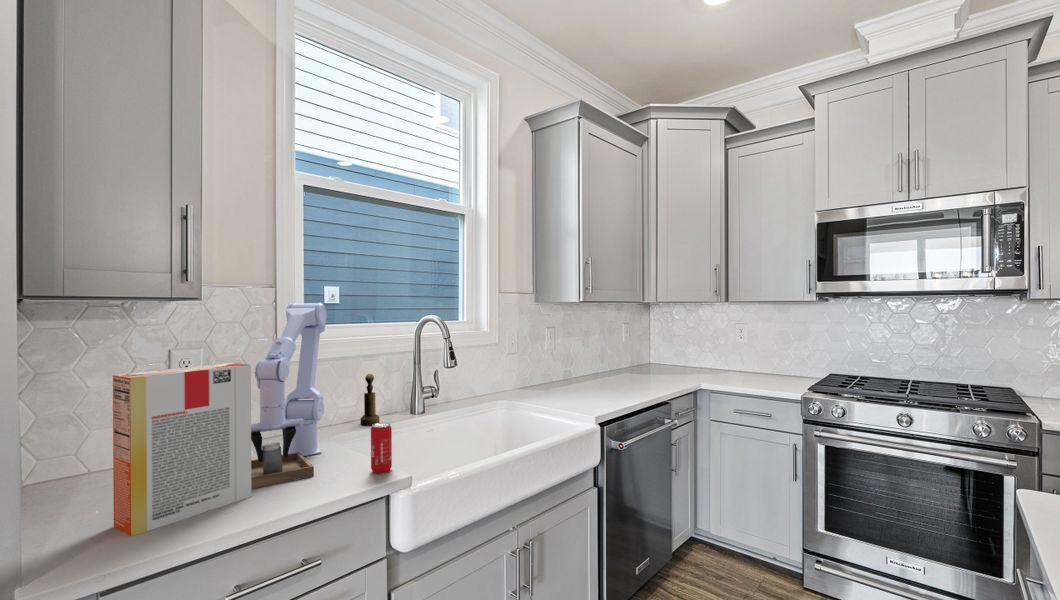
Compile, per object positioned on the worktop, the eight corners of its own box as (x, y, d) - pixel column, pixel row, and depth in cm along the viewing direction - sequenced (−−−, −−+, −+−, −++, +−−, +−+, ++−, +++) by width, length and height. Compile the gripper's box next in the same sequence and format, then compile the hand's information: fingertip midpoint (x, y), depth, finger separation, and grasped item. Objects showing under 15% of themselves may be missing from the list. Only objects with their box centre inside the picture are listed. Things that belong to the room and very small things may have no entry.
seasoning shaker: (261, 471, 131) (259, 445, 131) (279, 467, 134) (277, 440, 134) (265, 476, 128) (263, 448, 128) (284, 471, 131) (282, 444, 130)
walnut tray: (233, 472, 133) (232, 463, 133) (298, 460, 142) (298, 452, 142) (242, 490, 120) (242, 480, 120) (313, 476, 130) (313, 466, 130)
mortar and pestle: (372, 420, 190) (371, 372, 191) (383, 422, 187) (382, 373, 187) (356, 424, 185) (356, 374, 185) (367, 426, 181) (367, 375, 181)
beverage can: (385, 475, 130) (385, 427, 130) (367, 473, 131) (366, 427, 131) (395, 468, 135) (394, 423, 135) (377, 467, 136) (376, 422, 136)
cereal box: (232, 490, 121) (231, 362, 121) (251, 496, 116) (250, 364, 116) (113, 526, 101) (112, 375, 101) (131, 536, 97) (130, 378, 97)
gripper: (242, 412, 124) (243, 468, 124) (306, 404, 132) (306, 457, 132) (238, 407, 129) (238, 461, 129) (299, 400, 138) (300, 450, 138)
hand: (272, 458), depth 131 cm, fingers open, 5 cm apart
